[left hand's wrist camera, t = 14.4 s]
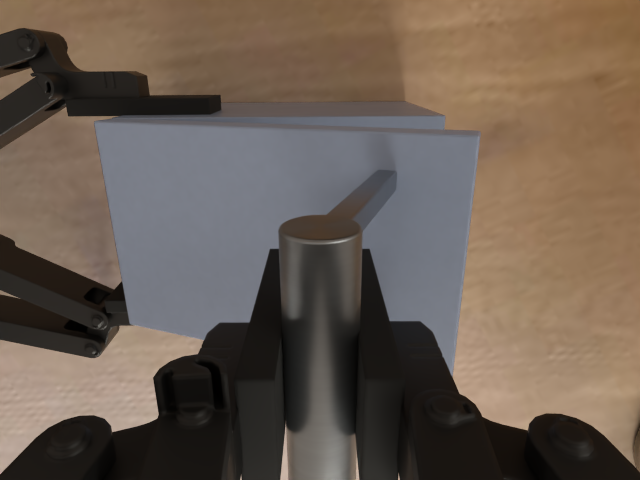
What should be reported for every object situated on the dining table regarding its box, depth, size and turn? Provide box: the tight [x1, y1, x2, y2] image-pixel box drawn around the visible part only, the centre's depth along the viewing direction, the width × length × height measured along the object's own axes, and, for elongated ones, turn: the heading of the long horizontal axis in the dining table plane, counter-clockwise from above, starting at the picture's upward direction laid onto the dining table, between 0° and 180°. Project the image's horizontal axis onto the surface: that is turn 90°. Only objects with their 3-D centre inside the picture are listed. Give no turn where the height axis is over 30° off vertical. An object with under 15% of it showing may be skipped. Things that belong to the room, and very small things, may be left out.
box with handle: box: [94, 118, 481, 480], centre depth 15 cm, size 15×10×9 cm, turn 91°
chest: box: [112, 101, 445, 130], centre depth 26 cm, size 15×10×9 cm, turn 90°
